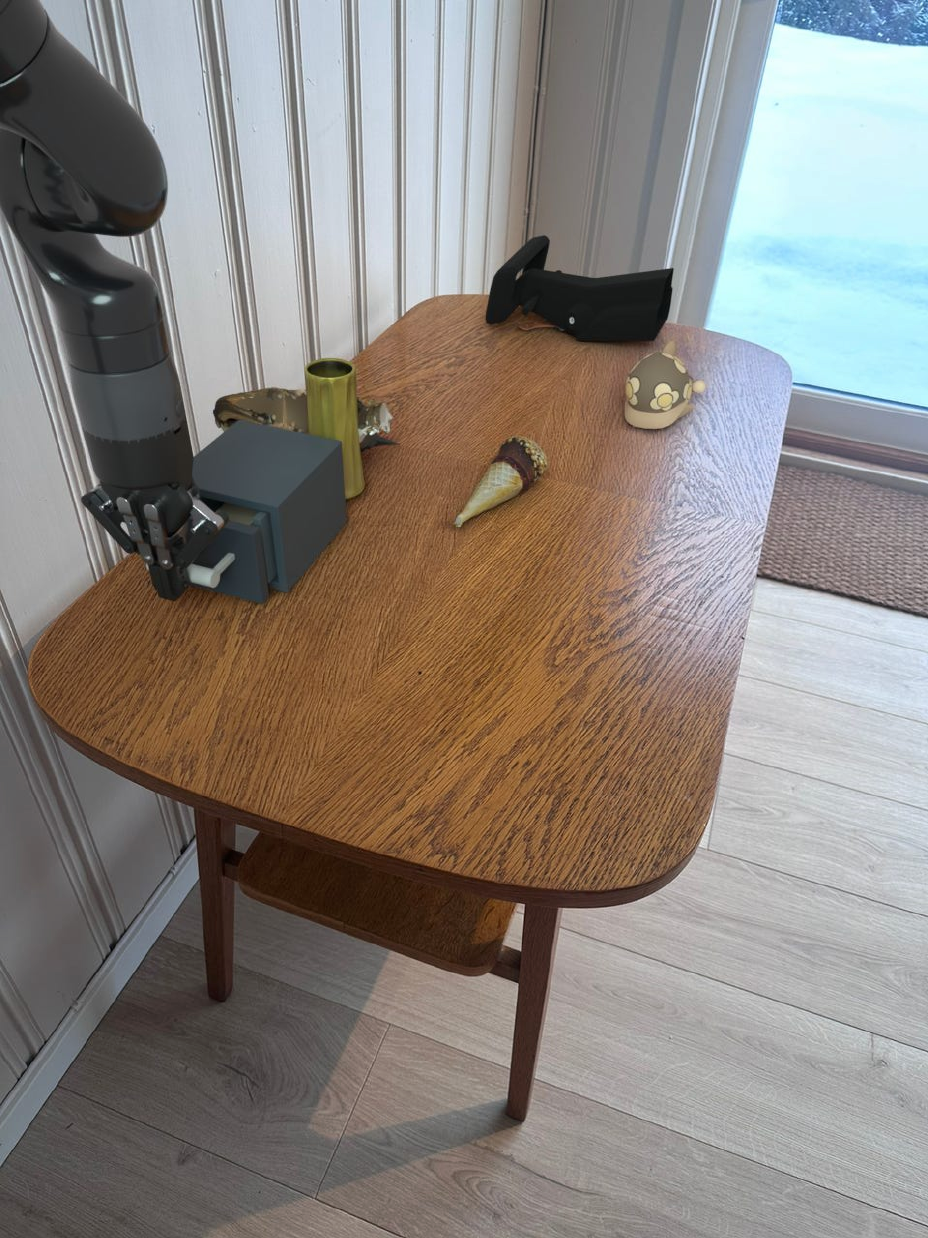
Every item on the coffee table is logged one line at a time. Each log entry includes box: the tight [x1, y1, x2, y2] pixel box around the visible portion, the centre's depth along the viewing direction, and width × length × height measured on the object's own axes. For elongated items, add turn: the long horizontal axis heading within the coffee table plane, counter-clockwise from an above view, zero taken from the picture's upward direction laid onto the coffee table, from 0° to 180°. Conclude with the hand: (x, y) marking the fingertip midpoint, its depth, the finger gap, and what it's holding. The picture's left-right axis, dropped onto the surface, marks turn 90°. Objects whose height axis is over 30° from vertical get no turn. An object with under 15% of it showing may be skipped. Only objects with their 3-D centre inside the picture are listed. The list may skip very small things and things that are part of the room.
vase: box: [304, 357, 366, 501], centre depth 95 cm, size 6×6×14 cm
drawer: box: [145, 497, 277, 605], centre depth 84 cm, size 16×11×8 cm, turn 160°
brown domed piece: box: [624, 338, 707, 430], centre depth 116 cm, size 10×11×15 cm
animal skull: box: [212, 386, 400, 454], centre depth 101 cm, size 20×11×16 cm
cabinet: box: [192, 420, 348, 593], centre depth 88 cm, size 13×12×10 cm
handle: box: [484, 234, 675, 342], centre depth 135 cm, size 17×27×15 cm, turn 67°
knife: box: [519, 320, 566, 332], centre depth 140 cm, size 13×1×3 cm
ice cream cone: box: [453, 434, 548, 528], centre depth 98 cm, size 6×6×15 cm
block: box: [217, 502, 260, 526], centre depth 85 cm, size 4×4×4 cm
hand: (173, 594), depth 77 cm, fingers closed
